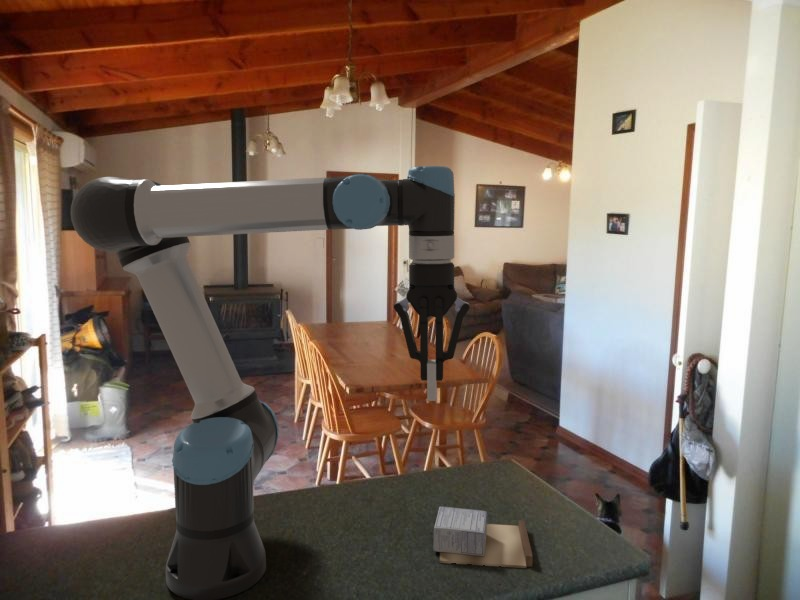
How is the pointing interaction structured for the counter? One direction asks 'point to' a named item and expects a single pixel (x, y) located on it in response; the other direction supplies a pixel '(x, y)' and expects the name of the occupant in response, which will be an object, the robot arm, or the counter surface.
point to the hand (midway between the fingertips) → (432, 398)
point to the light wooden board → (494, 549)
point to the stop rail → (525, 543)
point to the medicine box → (460, 531)
